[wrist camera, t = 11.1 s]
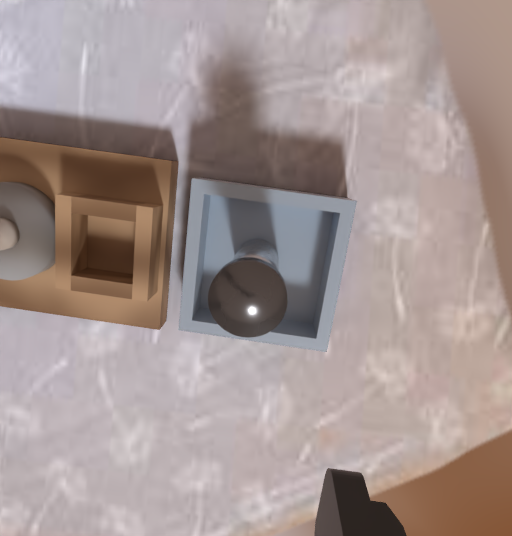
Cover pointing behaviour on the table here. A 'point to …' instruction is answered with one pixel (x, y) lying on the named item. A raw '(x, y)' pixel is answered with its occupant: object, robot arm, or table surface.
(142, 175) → the block
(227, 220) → the tray
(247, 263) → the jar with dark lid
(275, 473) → the table surface
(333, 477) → the robot arm
